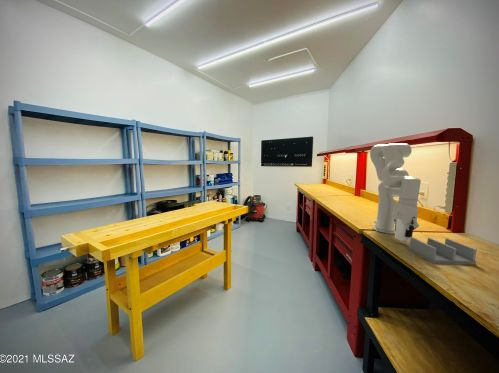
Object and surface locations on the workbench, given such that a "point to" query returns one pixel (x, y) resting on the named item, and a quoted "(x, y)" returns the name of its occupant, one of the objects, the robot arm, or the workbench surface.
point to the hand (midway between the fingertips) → (402, 233)
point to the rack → (443, 251)
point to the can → (401, 231)
